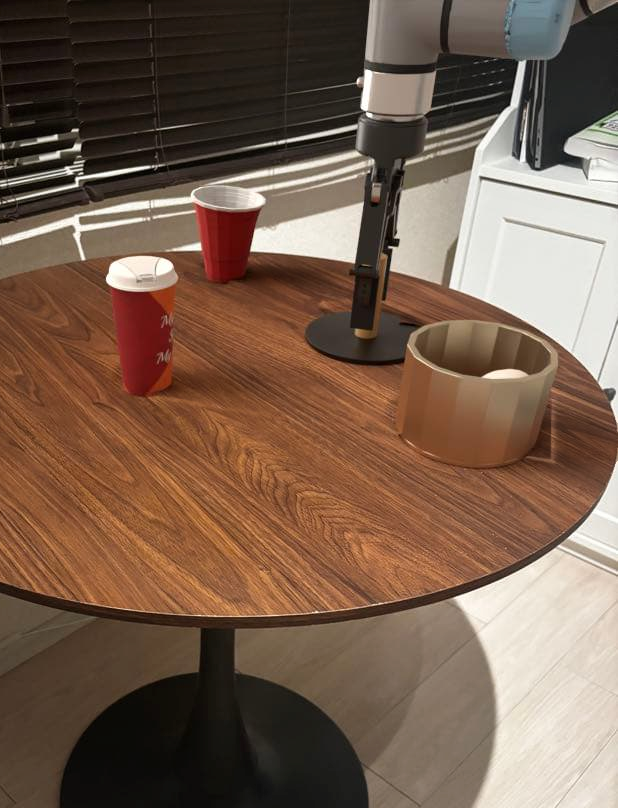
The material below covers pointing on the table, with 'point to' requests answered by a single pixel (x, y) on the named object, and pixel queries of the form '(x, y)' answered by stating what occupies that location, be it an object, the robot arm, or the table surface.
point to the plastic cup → (226, 228)
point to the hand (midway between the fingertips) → (368, 312)
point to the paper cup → (144, 321)
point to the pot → (474, 392)
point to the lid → (362, 335)
